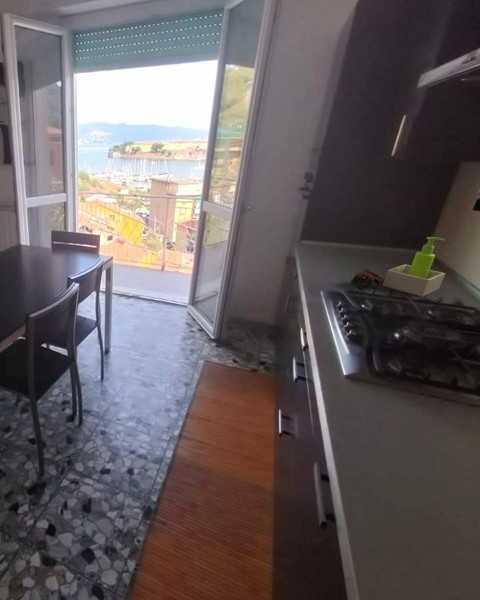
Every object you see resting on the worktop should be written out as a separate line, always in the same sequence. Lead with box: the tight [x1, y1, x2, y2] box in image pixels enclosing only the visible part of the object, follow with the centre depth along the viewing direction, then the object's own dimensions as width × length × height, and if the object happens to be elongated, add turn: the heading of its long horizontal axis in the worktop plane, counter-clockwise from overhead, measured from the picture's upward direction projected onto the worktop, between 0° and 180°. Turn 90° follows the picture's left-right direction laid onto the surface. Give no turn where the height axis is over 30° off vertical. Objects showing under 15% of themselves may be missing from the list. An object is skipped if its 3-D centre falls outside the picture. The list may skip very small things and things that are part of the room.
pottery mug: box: [349, 268, 383, 289], centre depth 150 cm, size 12×10×8 cm
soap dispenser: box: [408, 236, 446, 279], centre depth 147 cm, size 6×7×20 cm
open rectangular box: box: [382, 263, 446, 297], centre depth 149 cm, size 14×16×7 cm
